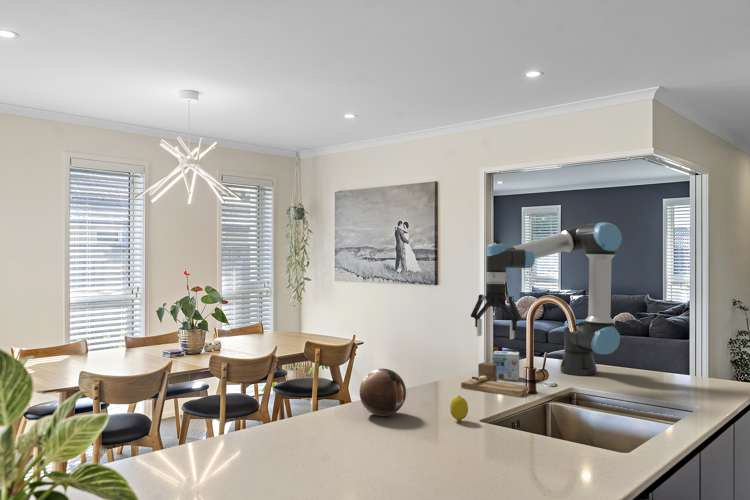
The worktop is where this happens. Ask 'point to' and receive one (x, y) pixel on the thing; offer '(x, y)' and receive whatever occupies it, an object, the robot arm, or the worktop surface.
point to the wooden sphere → (382, 392)
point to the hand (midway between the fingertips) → (495, 337)
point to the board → (496, 387)
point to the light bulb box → (507, 365)
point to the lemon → (459, 408)
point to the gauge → (486, 373)
